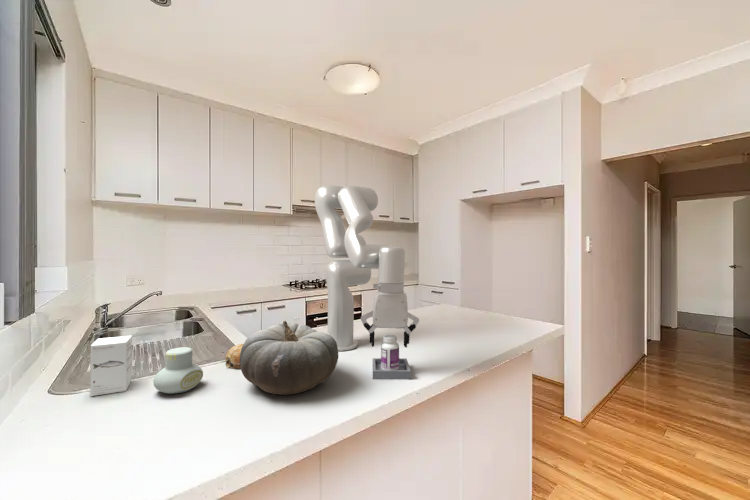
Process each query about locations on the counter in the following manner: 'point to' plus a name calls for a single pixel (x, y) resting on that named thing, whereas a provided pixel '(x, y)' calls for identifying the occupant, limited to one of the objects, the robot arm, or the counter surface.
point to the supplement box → (110, 365)
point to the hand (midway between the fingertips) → (389, 345)
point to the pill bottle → (390, 353)
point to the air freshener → (178, 372)
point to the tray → (401, 373)
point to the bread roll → (233, 357)
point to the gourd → (288, 358)
